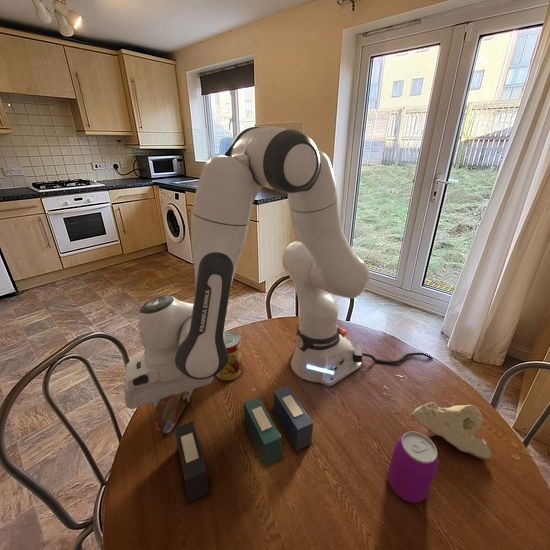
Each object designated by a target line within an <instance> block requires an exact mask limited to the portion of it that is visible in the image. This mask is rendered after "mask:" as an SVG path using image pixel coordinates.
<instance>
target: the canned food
mask: <svg viewBox="0 0 550 550" xmlns="http://www.w3.org/2000/svg"><path fill="white" fill-rule="evenodd" d="M224 331H225V342H226V348H227V353H228V362H227V364H226V366H225V367H224V369H223V370H222V371H220V372H219V373H218V374H216V375H215V377H217V378H218V379H220V380H222V381H232V380H235V379H236V378H238V377H239V376H240V375H241V372H242V353H241V351H242V349H241V336H240V334H239V333H237V332H236V331H232V330H224Z"/></svg>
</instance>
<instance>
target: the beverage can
mask: <svg viewBox="0 0 550 550" xmlns="http://www.w3.org/2000/svg"><path fill="white" fill-rule="evenodd" d="M439 465H440V463H439V455H438V449H437V447H436V445H435V443H434V442H433V441H432V439H431V438H429V437H428V436H427V435H426V434H423V433H422V432H418V431H415V430H414V431H413V430H411V431H406V432H405V433H404V434H403V435H402V436H400V437H399V438H398V439H397V441H396V442H395V445H394V449H393V452H392V455H391V459H390V463H389V465H388V469H387V481H388V484H389V486H390V487H391V489H392V491H393V492H394V493H395V494H396V495H397V496H398V497H399V498H401V499H402V500H404V501H406V502H409V503H413V504H414V503H415V504H416V503H417V504H418V503H420V502H423V501H424V500H425V499H426V498H427V496H428V493H429V491H430V488H431V486H432V483H433V481H434V478H435V476H436V473H437V471H438V468H439Z"/></svg>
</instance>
